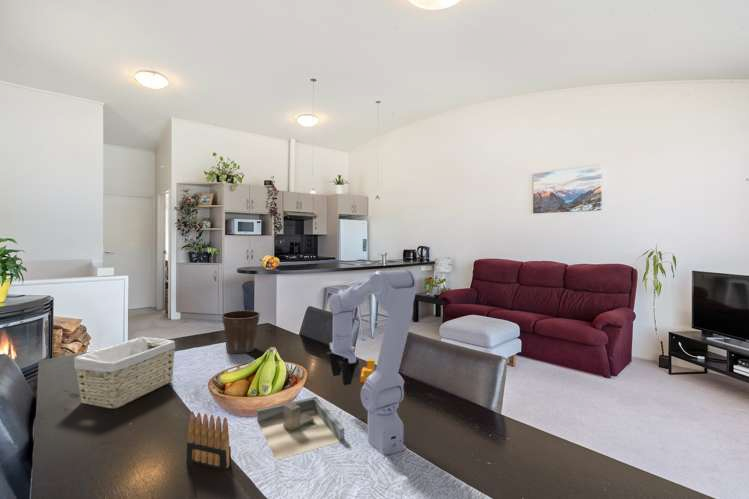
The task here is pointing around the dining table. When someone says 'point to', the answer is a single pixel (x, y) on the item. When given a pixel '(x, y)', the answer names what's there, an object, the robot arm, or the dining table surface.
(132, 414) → the dining table surface
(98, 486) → the dining table surface
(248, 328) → the plant pot
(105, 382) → the storage basket
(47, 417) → the dining table surface
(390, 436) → the robot arm
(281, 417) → the tray
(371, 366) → the pipe clamp
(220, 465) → the ammunition clip
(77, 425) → the dining table surface
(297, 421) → the bracket
